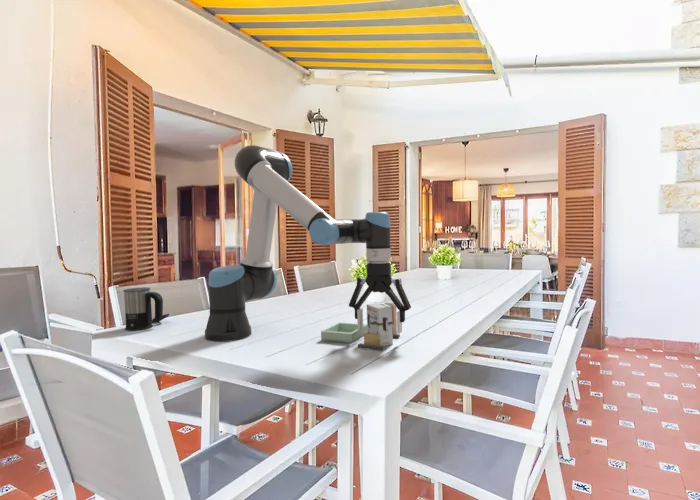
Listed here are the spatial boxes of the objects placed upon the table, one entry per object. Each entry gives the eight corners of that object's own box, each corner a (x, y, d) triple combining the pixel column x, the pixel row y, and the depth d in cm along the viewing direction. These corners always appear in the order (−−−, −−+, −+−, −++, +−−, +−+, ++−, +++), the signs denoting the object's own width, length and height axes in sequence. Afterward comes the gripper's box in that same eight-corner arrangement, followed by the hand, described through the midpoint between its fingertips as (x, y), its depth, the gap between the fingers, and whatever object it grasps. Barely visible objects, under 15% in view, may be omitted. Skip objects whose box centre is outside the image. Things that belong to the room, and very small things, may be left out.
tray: (321, 340, 136) (321, 331, 136) (339, 331, 149) (339, 322, 149) (351, 343, 132) (351, 333, 132) (367, 333, 145) (367, 324, 145)
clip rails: (364, 347, 128) (364, 333, 128) (379, 336, 140) (379, 323, 140) (380, 348, 126) (379, 334, 126) (394, 337, 138) (393, 325, 138)
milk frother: (121, 332, 153) (119, 291, 153) (132, 322, 169) (131, 285, 168) (163, 329, 157) (162, 289, 156) (171, 320, 172) (170, 283, 171)
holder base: (357, 347, 127) (357, 344, 127) (376, 335, 142) (376, 332, 142) (383, 350, 124) (383, 347, 124) (399, 337, 139) (399, 334, 139)
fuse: (382, 335, 142) (382, 303, 141) (385, 333, 144) (384, 301, 144) (394, 336, 140) (393, 303, 140) (396, 334, 143) (396, 302, 142)
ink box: (366, 340, 136) (366, 303, 135) (380, 338, 138) (380, 302, 137) (378, 346, 128) (378, 307, 128) (393, 344, 130) (392, 306, 130)
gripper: (337, 262, 133) (338, 330, 134) (413, 263, 124) (414, 337, 125) (347, 260, 140) (348, 325, 141) (420, 261, 130) (421, 331, 131)
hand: (379, 331), depth 133 cm, fingers open, 12 cm apart
